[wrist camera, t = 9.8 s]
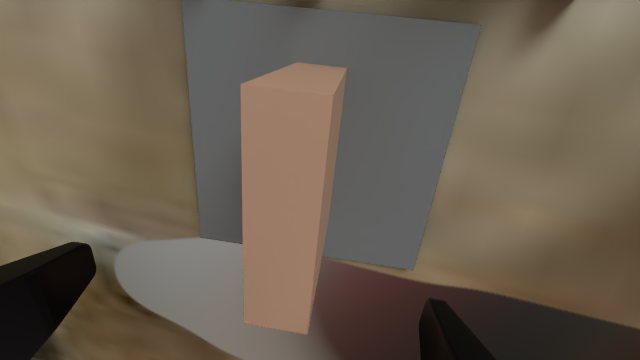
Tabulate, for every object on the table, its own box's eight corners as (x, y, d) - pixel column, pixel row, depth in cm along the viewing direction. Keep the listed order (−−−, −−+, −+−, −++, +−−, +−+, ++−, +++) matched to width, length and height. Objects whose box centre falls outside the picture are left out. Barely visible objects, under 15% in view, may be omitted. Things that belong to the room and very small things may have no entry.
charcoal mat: (477, 25, 14) (481, 24, 14) (412, 265, 20) (413, 270, 20) (186, -4, 15) (180, -5, 15) (204, 233, 21) (200, 237, 21)
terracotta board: (347, 67, 15) (333, 94, 8) (328, 222, 19) (307, 334, 12) (297, 62, 16) (240, 84, 8) (288, 216, 19) (243, 323, 12)
